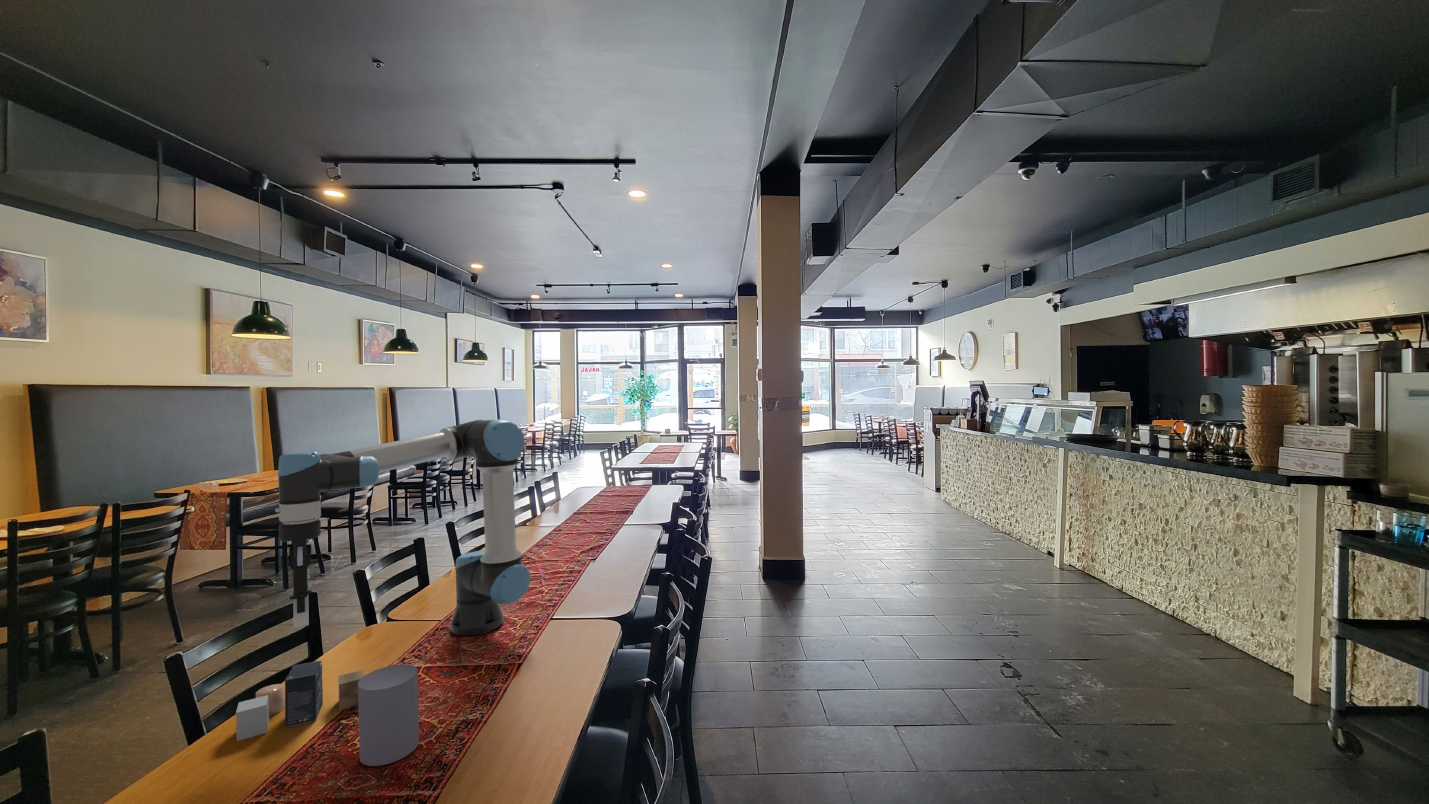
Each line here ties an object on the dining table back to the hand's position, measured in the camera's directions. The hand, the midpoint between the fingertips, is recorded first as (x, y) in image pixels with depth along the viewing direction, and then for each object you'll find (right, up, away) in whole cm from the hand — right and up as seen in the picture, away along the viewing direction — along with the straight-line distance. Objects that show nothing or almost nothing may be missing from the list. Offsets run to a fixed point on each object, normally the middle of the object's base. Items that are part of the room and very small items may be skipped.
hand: (301, 625), depth 124 cm
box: (+1, -21, 0) cm, 21 cm away
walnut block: (+8, -20, +6) cm, 23 cm away
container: (+28, -20, -13) cm, 37 cm away
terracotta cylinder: (-9, -21, +3) cm, 23 cm away
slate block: (-6, -21, -5) cm, 22 cm away
